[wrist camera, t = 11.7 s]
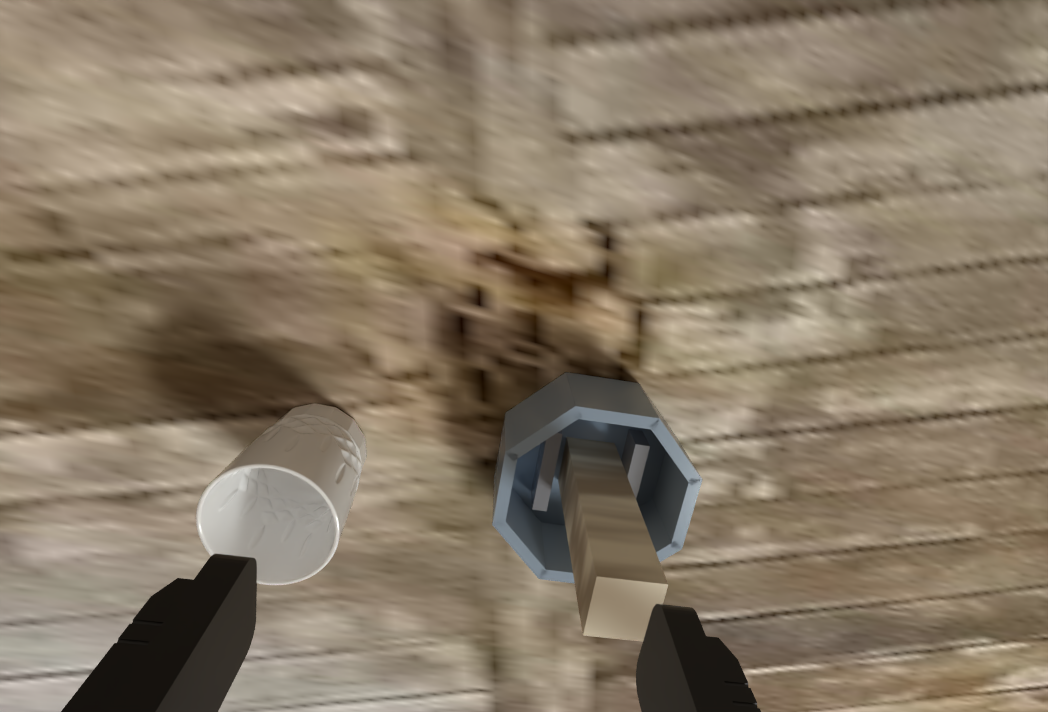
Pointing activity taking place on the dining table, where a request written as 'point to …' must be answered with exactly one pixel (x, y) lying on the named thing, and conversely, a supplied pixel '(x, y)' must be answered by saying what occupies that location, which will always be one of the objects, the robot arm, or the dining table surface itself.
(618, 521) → the tan square peg
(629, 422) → the blue octagonal holder
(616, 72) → the dining table surface
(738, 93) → the dining table surface
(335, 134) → the dining table surface
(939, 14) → the dining table surface
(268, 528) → the white cup
